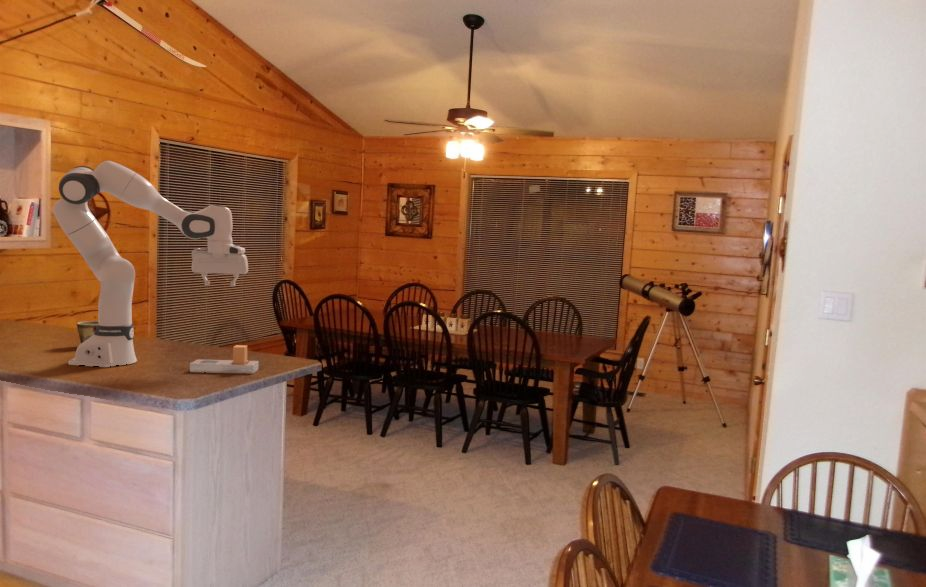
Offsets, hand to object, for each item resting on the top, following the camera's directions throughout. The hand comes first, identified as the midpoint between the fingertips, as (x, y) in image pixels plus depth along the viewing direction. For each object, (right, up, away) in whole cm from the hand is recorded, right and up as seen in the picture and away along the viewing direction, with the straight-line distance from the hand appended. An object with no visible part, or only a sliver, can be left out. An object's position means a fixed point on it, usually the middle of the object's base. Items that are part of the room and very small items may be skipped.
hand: (220, 285), depth 268 cm
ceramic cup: (-60, -25, +24) cm, 69 cm away
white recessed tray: (+6, -31, -12) cm, 33 cm away
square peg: (+11, -31, -11) cm, 35 cm away
